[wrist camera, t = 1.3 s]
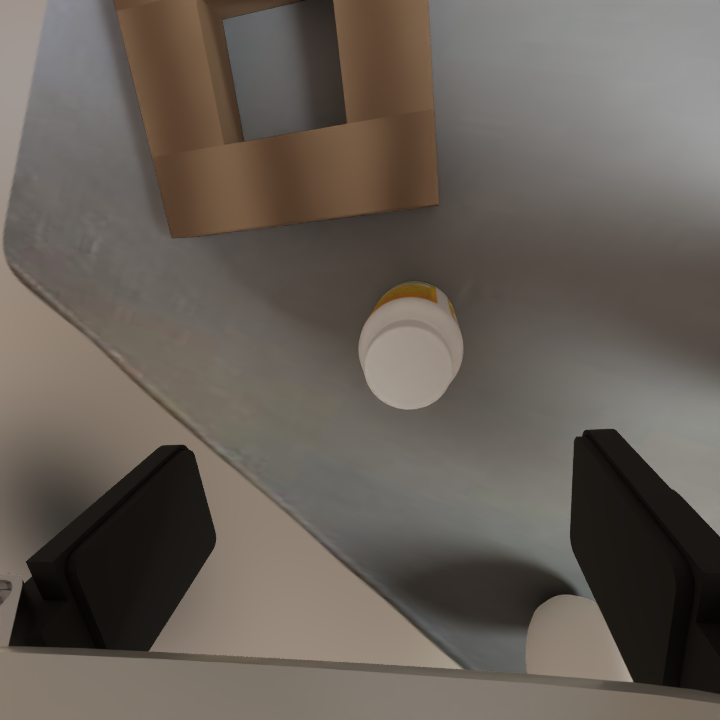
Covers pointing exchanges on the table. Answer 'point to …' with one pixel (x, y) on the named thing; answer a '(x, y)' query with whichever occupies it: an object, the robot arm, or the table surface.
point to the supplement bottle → (411, 346)
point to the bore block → (290, 151)
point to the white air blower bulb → (573, 641)
